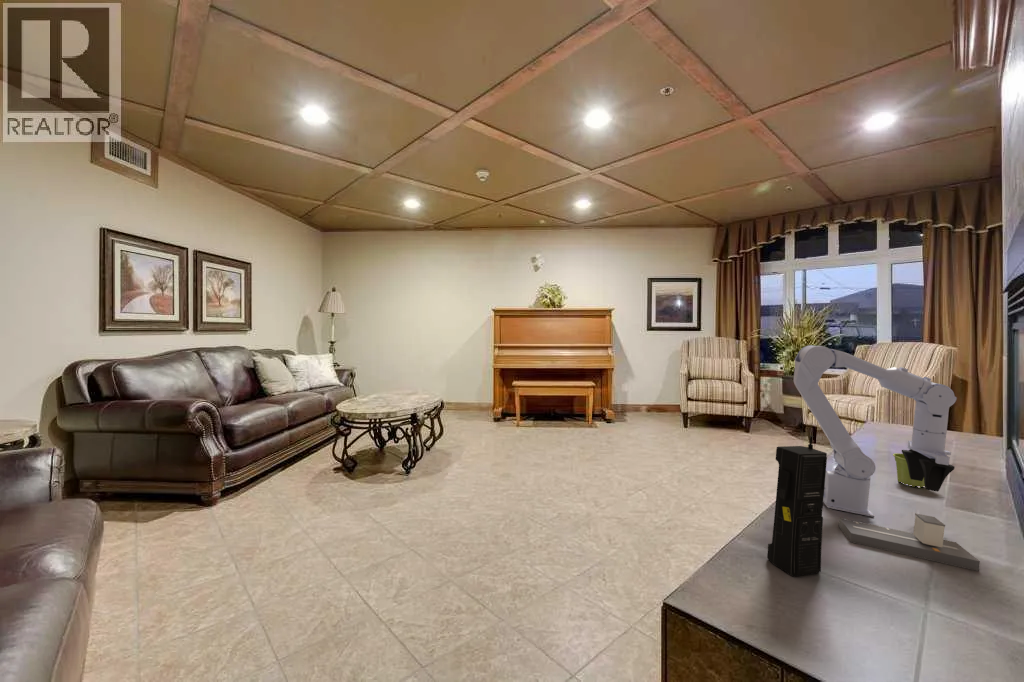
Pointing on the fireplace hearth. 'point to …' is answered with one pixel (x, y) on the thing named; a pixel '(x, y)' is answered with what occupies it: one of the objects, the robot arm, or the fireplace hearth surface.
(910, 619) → the fireplace hearth surface
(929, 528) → the fader
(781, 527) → the portable radio
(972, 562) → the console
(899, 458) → the plant pot
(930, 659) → the fireplace hearth surface
